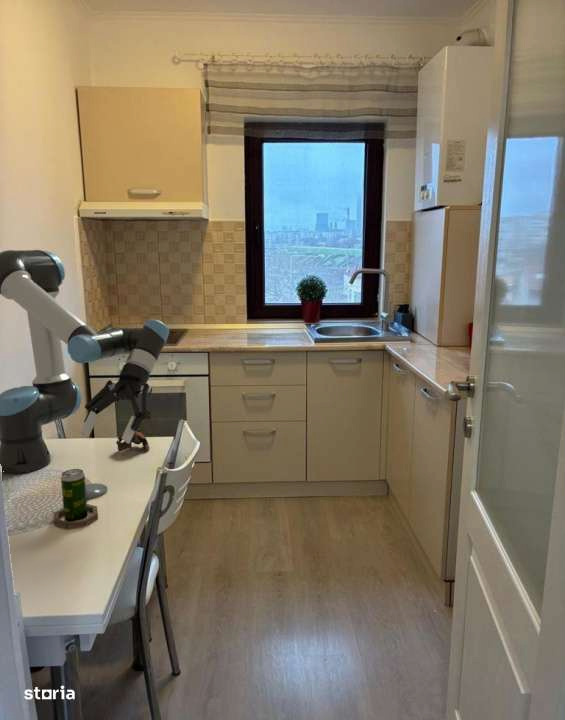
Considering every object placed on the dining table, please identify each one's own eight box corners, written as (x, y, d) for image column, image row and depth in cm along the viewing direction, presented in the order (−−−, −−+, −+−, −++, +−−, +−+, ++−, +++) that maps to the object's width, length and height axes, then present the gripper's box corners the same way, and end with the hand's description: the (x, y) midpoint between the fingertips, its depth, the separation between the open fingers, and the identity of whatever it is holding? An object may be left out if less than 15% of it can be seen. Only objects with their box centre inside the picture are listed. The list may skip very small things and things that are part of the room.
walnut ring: (44, 523, 131) (44, 518, 131) (76, 506, 140) (75, 501, 140) (76, 532, 127) (75, 526, 127) (106, 514, 136) (106, 508, 136)
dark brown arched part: (150, 456, 176) (136, 437, 173) (125, 468, 177) (110, 450, 174) (154, 435, 187) (140, 417, 184) (130, 447, 188) (116, 429, 184)
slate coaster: (64, 495, 147) (64, 493, 146) (89, 483, 155) (89, 481, 154) (90, 502, 143) (90, 499, 143) (114, 488, 151) (114, 486, 151)
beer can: (76, 512, 137) (72, 467, 135) (92, 516, 135) (89, 470, 133) (59, 521, 133) (55, 474, 130) (76, 526, 130) (72, 478, 128)
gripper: (181, 379, 149) (150, 450, 138) (109, 374, 159) (75, 439, 148) (168, 364, 143) (135, 436, 133) (94, 359, 153) (58, 426, 143)
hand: (104, 438), depth 141 cm, fingers open, 13 cm apart
